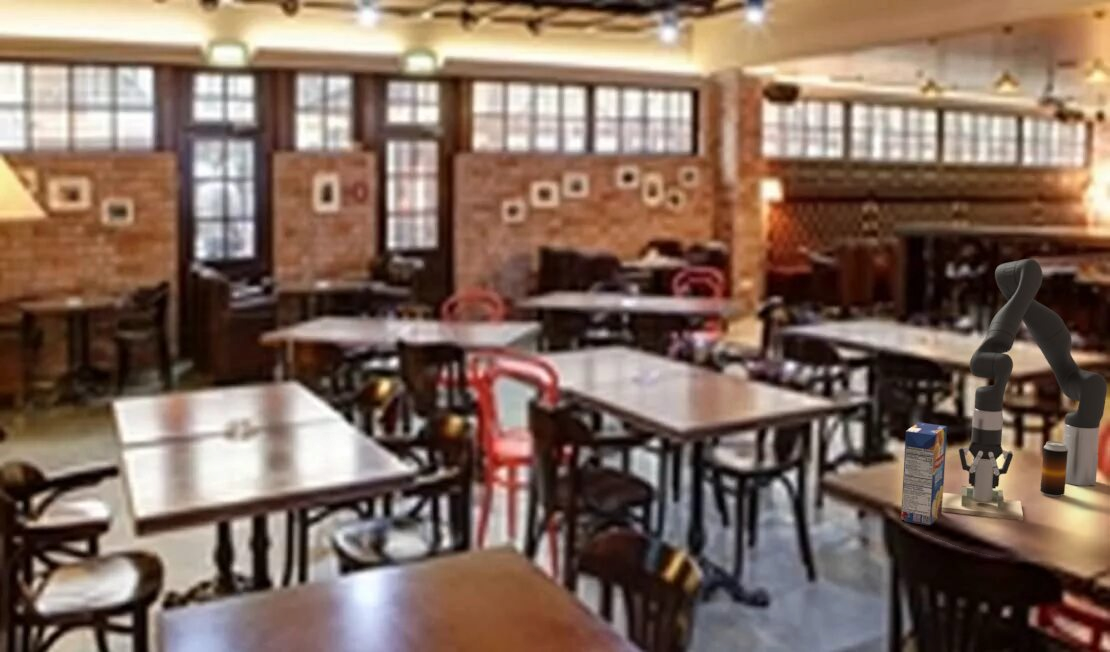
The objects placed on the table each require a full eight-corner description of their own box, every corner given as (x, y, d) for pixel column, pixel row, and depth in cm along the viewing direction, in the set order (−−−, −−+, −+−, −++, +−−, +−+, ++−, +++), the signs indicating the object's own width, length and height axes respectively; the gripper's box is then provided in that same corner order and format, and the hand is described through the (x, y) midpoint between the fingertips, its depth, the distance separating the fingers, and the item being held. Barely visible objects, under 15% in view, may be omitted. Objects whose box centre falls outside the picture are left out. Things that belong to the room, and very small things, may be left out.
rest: (1020, 505, 292) (1021, 490, 291) (1022, 520, 279) (1024, 505, 278) (942, 496, 299) (943, 482, 298) (941, 511, 286) (942, 496, 285)
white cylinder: (969, 497, 290) (972, 455, 289) (986, 497, 291) (989, 454, 289) (978, 503, 286) (980, 460, 284) (995, 502, 286) (998, 459, 284)
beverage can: (1062, 492, 303) (1066, 441, 301) (1065, 499, 297) (1069, 447, 295) (1039, 490, 305) (1042, 439, 303) (1041, 496, 299) (1045, 444, 297)
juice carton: (913, 508, 288) (918, 422, 284) (941, 513, 284) (947, 426, 280) (900, 520, 278) (905, 431, 274) (929, 525, 274) (935, 435, 270)
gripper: (1015, 424, 286) (1011, 485, 289) (958, 420, 291) (955, 480, 294) (1016, 431, 279) (1012, 493, 282) (958, 426, 284) (954, 487, 287)
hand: (983, 486), depth 288 cm, fingers closed on white cylinder, 5 cm apart
